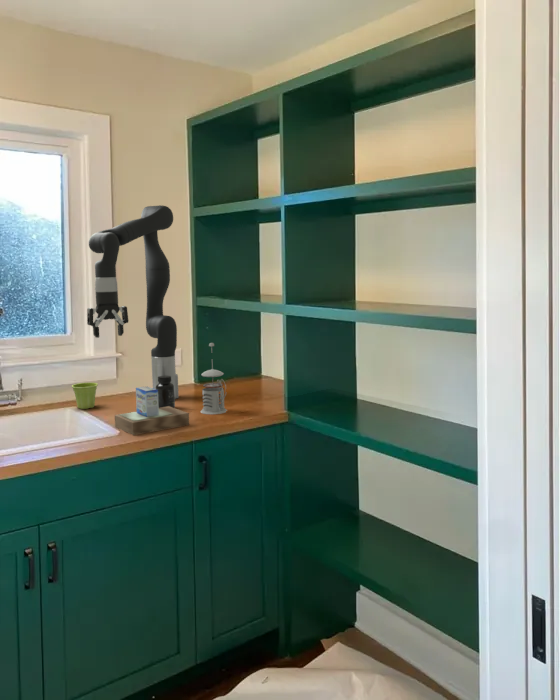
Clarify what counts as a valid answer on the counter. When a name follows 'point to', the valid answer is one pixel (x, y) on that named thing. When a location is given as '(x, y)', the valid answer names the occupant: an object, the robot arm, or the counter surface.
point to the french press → (213, 392)
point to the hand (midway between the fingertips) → (108, 336)
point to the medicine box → (147, 401)
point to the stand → (151, 421)
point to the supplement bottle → (165, 392)
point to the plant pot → (85, 394)
